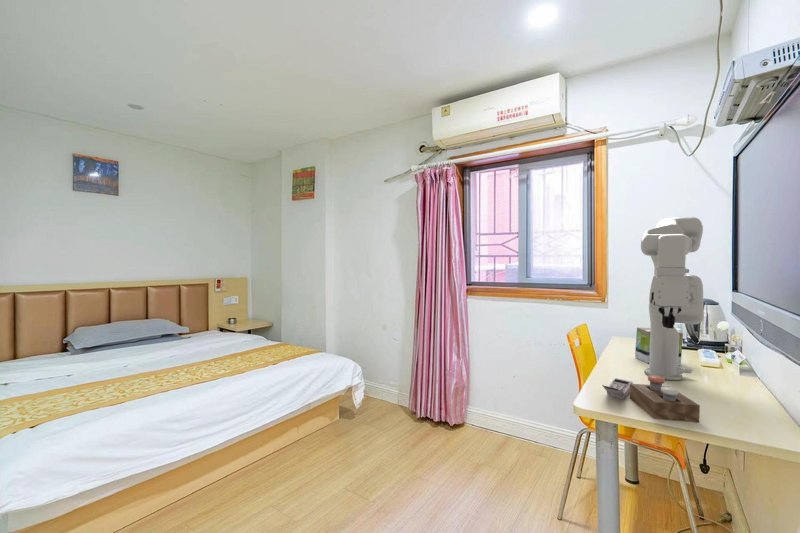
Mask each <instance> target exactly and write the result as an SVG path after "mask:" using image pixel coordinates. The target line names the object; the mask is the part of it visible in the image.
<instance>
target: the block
mask: <svg viewBox="0 0 800 533" xmlns="http://www.w3.org/2000/svg"><path fill="white" fill-rule="evenodd" d="M663 386H664V385H662V387H663ZM665 386H666V387H671V386H669V385H665ZM629 399H630V400H631V401H633V402H634V403H635V404H636V405H637V406H638V407H640V408H641V409H642V410H643V412H645V413H647V415H650V417H651V418H653V419H654V420H666V421H680V422H688V423H689V422H693V423H700V409H701V408H700V407H701V405H700V404H698V403H697V402H695V401H693V400H692V399H690V398H689V397H688V396H686V395H684V394H682V393H681V392H679V395H678V396H676V401H665V400H664V399H663V393H662V392H658V391H651V390H650V384H641V383H633V384H630V391H629Z"/></svg>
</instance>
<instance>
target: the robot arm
mask: <svg viewBox="0 0 800 533" xmlns="http://www.w3.org/2000/svg"><path fill="white" fill-rule="evenodd" d="M703 231H704V226H703V224H702V221H701V220H700V218H698V217H695V216H691V217H689V216H687V217H669V218H663V219H661V220H660V221H659V222H658V223H657V224H656V227H655V228H650V229H648V230H645V232H644V233H643V234H642V237H641V241H640V250H641V252H642V254H644V256H649V257H650V258H651V261H652V262H653V265H654V268H653V269H654V273H653V276H652V279H651V283H650V289H649V299H648V301H649V303H648V313H649V314H648V315H649V322H650V328H651V332H650V358H649V363H648V364H649V367H647V368H645V369H644V374H645V375H647V376H649V375H654V376H660V377H663V378H664V381H666V380H667V381H680V380H683V378H684V377H683V375H682V374H684V373H685V374H693V371H692V368H687V367H684V366H680V365H679V364H678V356H679V333H678V332H679V331H678V329H677V328H676V327H675V326H676V324H684V325H685V324H687V325H688V324H689V325H698V324H701V323H702V322H703V320H704V313H705V312H704V285H703V281H702V279H701V277H700V276H697V275H694V274H688V273H690V269H689V268H687V267H686V256H687V255H688V254H689V253H696V252H697V251H698V250H699V249H700V247H701V243H702V241H701V240H702V238H703V233H704V232H703Z"/></svg>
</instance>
